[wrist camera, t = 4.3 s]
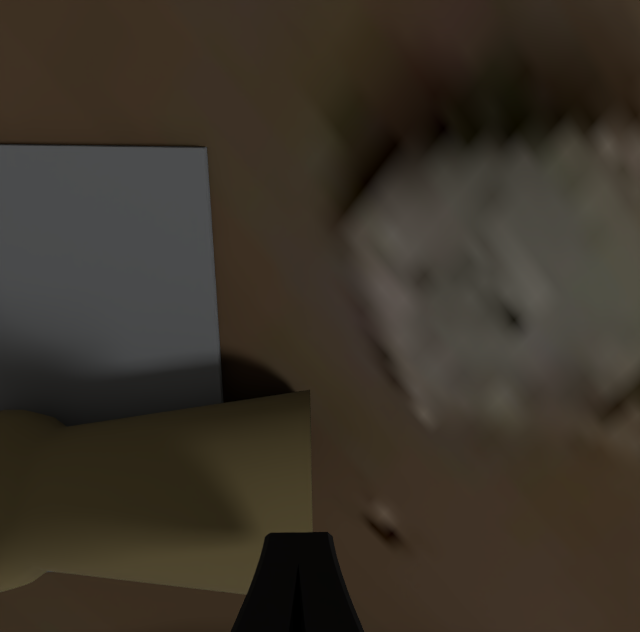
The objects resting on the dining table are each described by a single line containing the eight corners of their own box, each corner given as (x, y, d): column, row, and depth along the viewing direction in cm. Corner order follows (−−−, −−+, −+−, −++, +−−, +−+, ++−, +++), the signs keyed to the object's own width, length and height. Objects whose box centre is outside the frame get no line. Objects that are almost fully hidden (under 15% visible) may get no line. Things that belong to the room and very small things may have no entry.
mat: (233, 561, 21) (232, 569, 20) (-18, 564, 20) (-24, 572, 20) (206, 147, 15) (204, 148, 14) (-153, 141, 14) (-165, 143, 14)
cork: (312, 526, 19) (14, 534, 19) (309, 368, 18) (-4, 375, 18) (314, 656, 13) (-122, 670, 13) (310, 432, 12) (-159, 442, 12)
